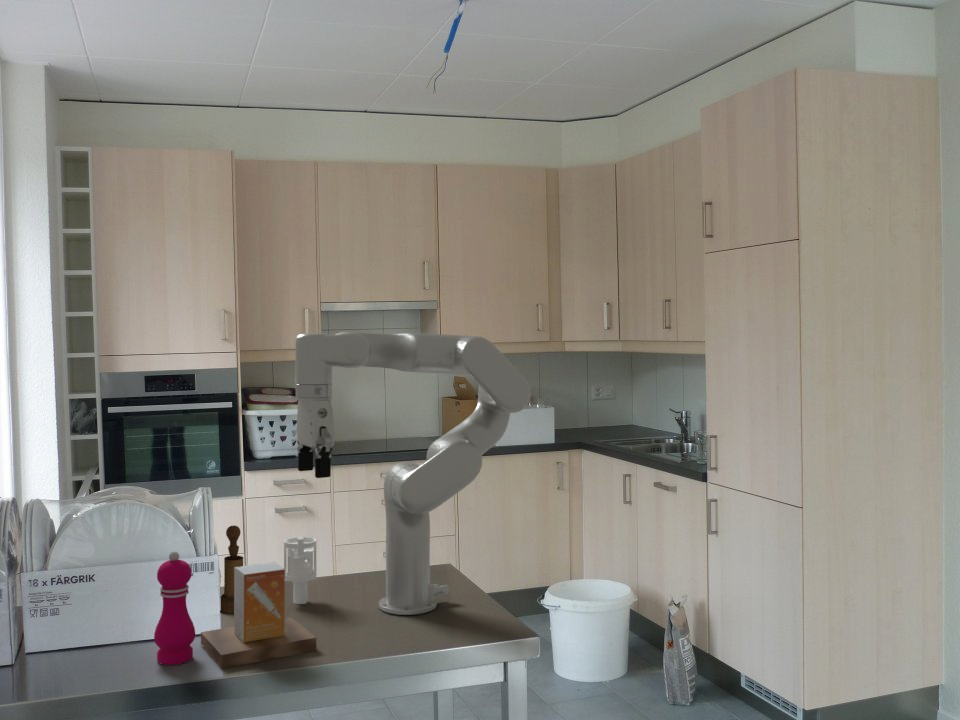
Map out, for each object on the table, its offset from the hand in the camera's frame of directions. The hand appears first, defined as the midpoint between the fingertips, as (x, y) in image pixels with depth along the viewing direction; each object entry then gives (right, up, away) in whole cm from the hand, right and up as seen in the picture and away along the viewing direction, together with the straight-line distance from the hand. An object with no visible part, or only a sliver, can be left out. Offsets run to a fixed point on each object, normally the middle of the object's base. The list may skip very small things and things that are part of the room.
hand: (314, 473), depth 194 cm
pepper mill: (-21, -32, -23) cm, 45 cm away
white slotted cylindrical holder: (-5, -30, +11) cm, 32 cm away
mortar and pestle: (-19, -30, +7) cm, 36 cm away
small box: (-7, -29, -17) cm, 34 cm away
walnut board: (-8, -31, -17) cm, 36 cm away
